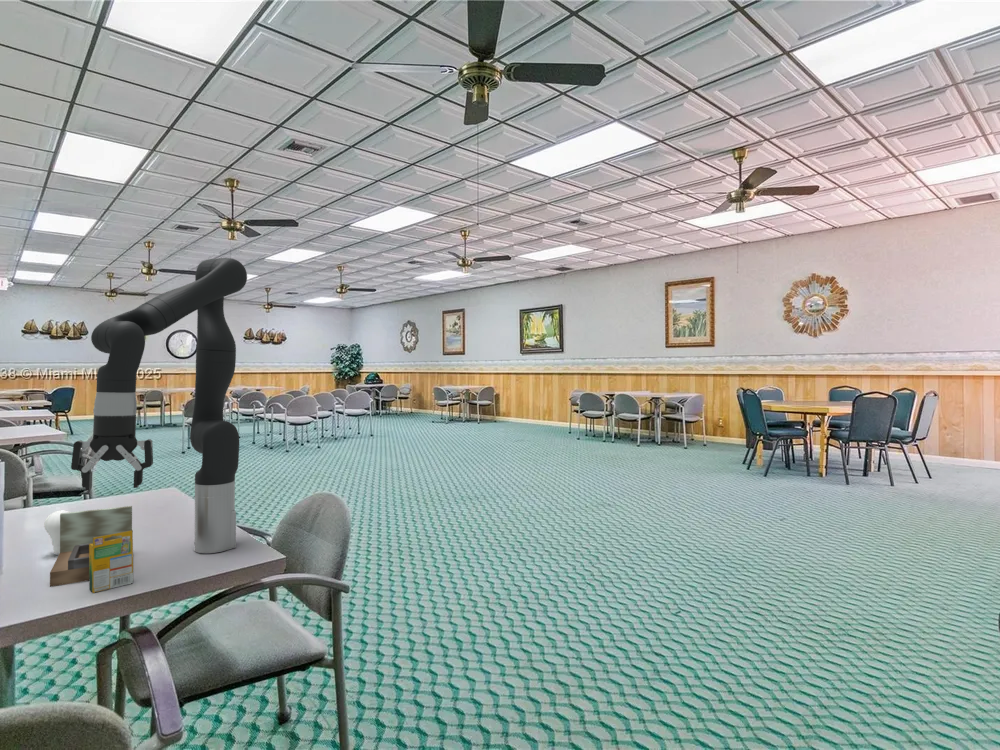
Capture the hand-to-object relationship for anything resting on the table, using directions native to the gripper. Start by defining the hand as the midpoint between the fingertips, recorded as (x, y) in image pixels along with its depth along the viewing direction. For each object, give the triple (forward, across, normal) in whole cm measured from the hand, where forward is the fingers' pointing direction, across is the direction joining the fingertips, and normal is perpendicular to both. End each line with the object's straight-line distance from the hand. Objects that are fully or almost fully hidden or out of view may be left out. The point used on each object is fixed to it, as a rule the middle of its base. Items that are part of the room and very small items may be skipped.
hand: (112, 488), depth 117 cm
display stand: (+20, +5, -12) cm, 24 cm away
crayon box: (+21, -1, +2) cm, 21 cm away
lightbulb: (+21, +15, -27) cm, 37 cm away
